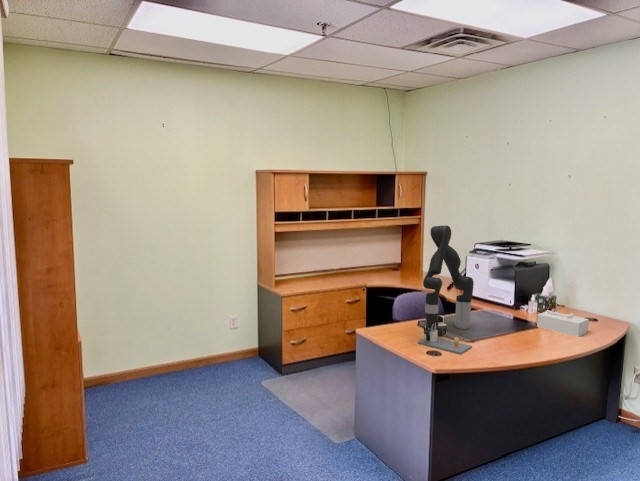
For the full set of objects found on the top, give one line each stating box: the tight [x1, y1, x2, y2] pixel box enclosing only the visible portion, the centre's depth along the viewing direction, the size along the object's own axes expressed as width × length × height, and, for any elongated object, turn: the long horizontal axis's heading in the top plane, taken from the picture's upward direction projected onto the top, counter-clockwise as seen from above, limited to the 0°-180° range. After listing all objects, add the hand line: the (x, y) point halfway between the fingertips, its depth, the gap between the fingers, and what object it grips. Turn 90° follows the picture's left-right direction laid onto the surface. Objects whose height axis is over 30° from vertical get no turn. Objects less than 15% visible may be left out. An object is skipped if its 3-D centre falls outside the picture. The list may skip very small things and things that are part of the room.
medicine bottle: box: [437, 314, 448, 338], centre depth 289 cm, size 7×7×12 cm
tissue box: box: [536, 309, 590, 337], centre depth 302 cm, size 14×25×11 cm, turn 39°
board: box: [417, 336, 473, 355], centre depth 271 cm, size 14×26×6 cm, turn 48°
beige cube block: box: [423, 328, 438, 342], centre depth 277 cm, size 6×6×6 cm
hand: (430, 339), depth 277 cm, fingers closed on beige cube block, 5 cm apart
